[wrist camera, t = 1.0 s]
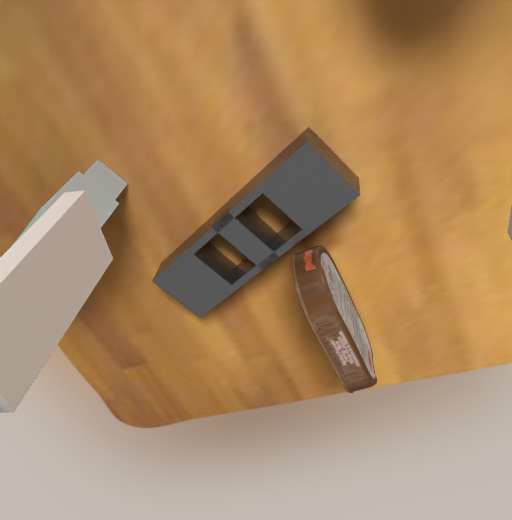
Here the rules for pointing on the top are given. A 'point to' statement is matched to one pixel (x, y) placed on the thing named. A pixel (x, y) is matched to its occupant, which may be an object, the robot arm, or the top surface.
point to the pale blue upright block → (91, 192)
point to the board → (259, 224)
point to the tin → (333, 317)
